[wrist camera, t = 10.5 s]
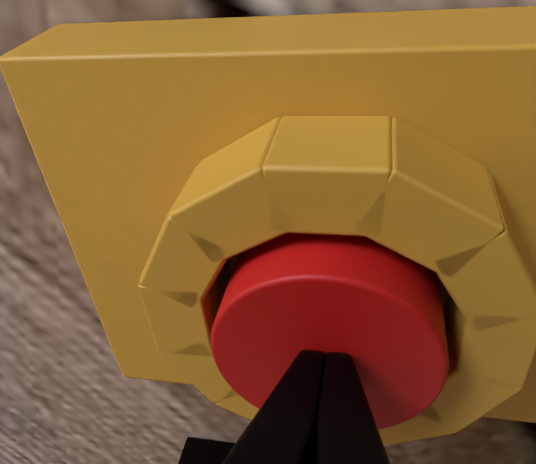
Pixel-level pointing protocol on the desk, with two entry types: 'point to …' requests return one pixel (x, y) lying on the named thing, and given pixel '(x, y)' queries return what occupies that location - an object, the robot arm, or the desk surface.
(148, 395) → the desk surface
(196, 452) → the black square platform
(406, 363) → the button
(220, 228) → the button block
